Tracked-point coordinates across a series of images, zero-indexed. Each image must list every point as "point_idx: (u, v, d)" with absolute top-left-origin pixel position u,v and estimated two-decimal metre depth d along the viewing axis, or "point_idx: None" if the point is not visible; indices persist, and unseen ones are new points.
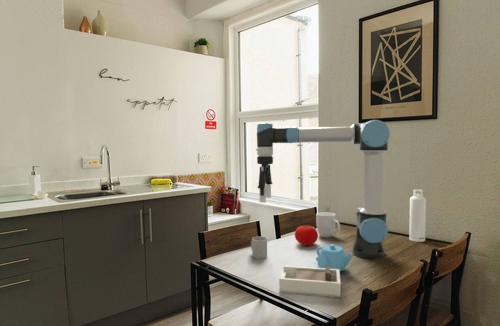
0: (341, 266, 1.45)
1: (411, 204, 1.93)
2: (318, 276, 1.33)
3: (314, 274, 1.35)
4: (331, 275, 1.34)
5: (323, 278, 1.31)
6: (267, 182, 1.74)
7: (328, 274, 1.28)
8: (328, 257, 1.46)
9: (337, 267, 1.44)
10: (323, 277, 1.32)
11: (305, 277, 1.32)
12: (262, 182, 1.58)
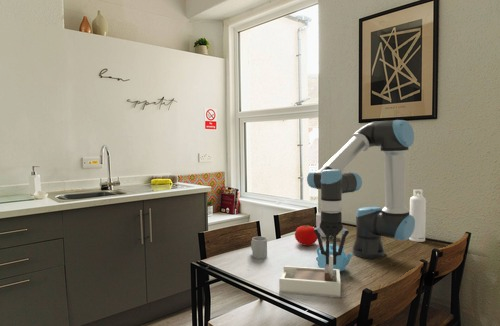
0: (341, 266, 1.45)
1: (411, 204, 1.93)
2: (317, 276, 1.33)
3: (313, 274, 1.35)
4: (330, 275, 1.34)
5: (322, 278, 1.31)
6: None
7: (327, 274, 1.28)
8: None
9: (337, 267, 1.44)
10: (322, 277, 1.32)
11: (304, 277, 1.32)
12: (320, 248, 1.31)
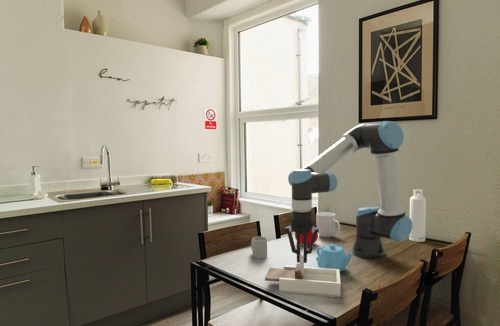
0: (341, 266, 1.45)
1: (411, 204, 1.93)
2: (289, 274, 1.35)
3: (285, 272, 1.37)
4: (302, 273, 1.36)
5: (293, 276, 1.33)
6: None
7: (297, 272, 1.30)
8: (328, 257, 1.46)
9: (337, 267, 1.44)
10: (293, 275, 1.34)
11: (275, 275, 1.35)
12: (291, 247, 1.34)
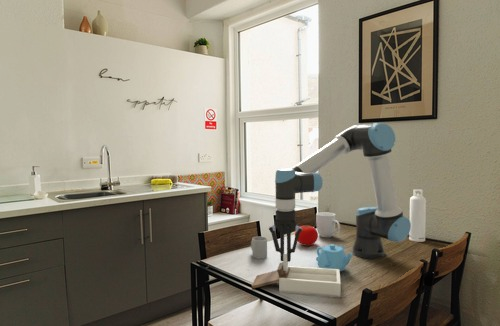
0: (341, 266, 1.45)
1: (411, 204, 1.93)
2: (274, 275, 1.37)
3: (271, 274, 1.38)
4: None
5: (278, 275, 1.35)
6: None
7: (280, 270, 1.32)
8: (328, 257, 1.46)
9: (337, 267, 1.44)
10: (278, 275, 1.36)
11: (262, 280, 1.36)
12: None
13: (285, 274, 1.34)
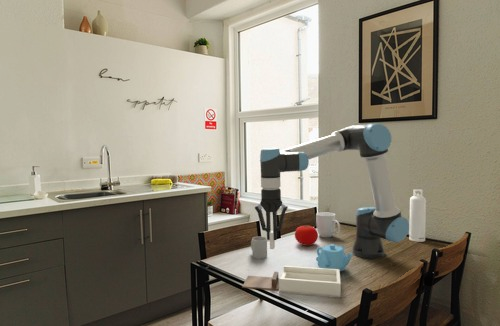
0: (341, 266, 1.45)
1: (411, 204, 1.93)
2: (266, 282, 1.38)
3: (263, 280, 1.40)
4: None
5: (270, 284, 1.36)
6: None
7: (274, 280, 1.33)
8: (328, 257, 1.46)
9: (337, 267, 1.44)
10: (270, 283, 1.37)
11: (253, 283, 1.37)
12: None
13: (277, 285, 1.35)
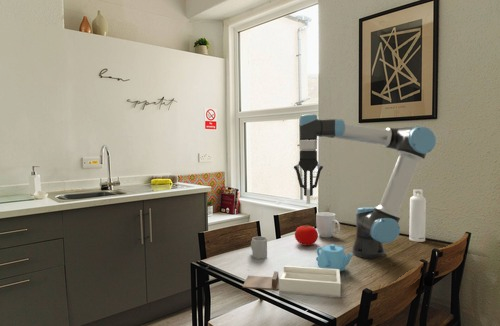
0: (341, 266, 1.45)
1: (411, 204, 1.93)
2: (266, 282, 1.38)
3: (263, 280, 1.40)
4: None
5: (270, 284, 1.36)
6: None
7: (274, 280, 1.33)
8: (328, 257, 1.46)
9: (337, 267, 1.44)
10: (271, 283, 1.37)
11: (253, 283, 1.37)
12: (299, 182, 1.55)
13: (278, 285, 1.35)
